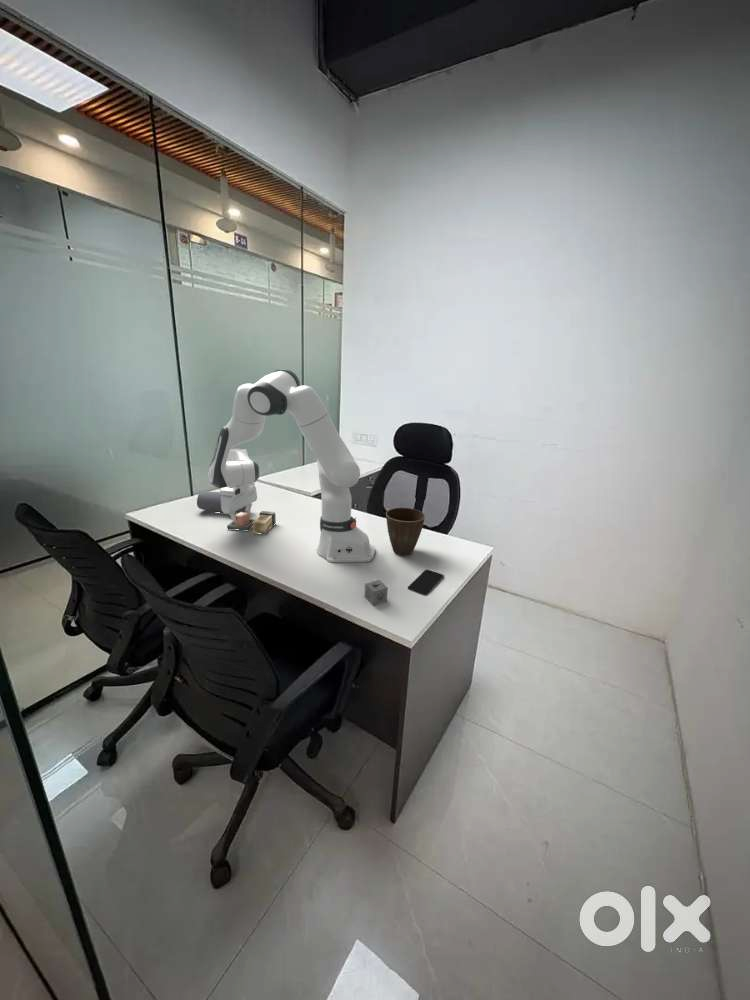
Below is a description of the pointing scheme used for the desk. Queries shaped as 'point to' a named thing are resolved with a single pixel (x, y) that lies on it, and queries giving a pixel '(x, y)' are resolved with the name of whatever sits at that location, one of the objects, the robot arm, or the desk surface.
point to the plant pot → (404, 529)
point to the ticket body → (264, 522)
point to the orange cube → (242, 519)
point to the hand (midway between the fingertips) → (241, 516)
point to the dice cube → (376, 592)
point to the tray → (232, 526)
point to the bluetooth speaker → (212, 502)
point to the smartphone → (425, 582)
